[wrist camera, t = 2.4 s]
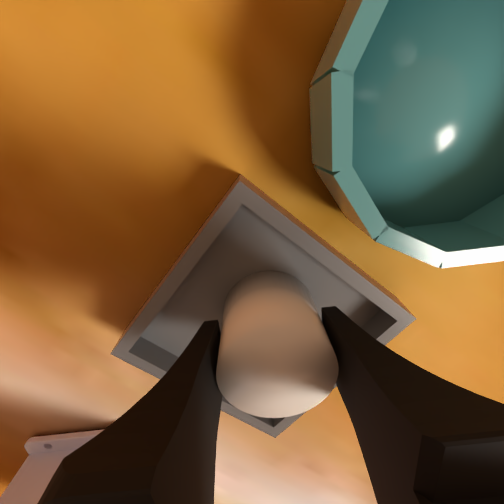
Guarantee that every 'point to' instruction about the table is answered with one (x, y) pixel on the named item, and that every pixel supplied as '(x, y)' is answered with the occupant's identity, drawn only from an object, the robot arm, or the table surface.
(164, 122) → the table surface
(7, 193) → the table surface
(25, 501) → the robot arm
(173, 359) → the parts tray
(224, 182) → the table surface
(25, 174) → the table surface
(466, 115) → the bowl
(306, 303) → the stone
